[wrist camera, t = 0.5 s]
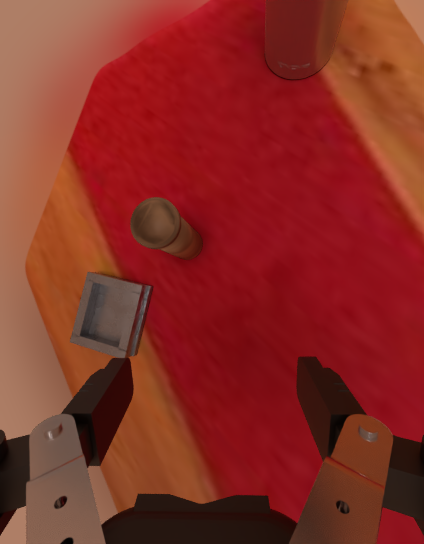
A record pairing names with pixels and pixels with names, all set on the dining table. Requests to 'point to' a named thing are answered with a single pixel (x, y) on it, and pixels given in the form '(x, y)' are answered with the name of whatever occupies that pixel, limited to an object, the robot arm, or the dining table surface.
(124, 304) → the grey square tray
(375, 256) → the dining table surface
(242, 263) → the dining table surface
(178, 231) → the brown capped cylinder
